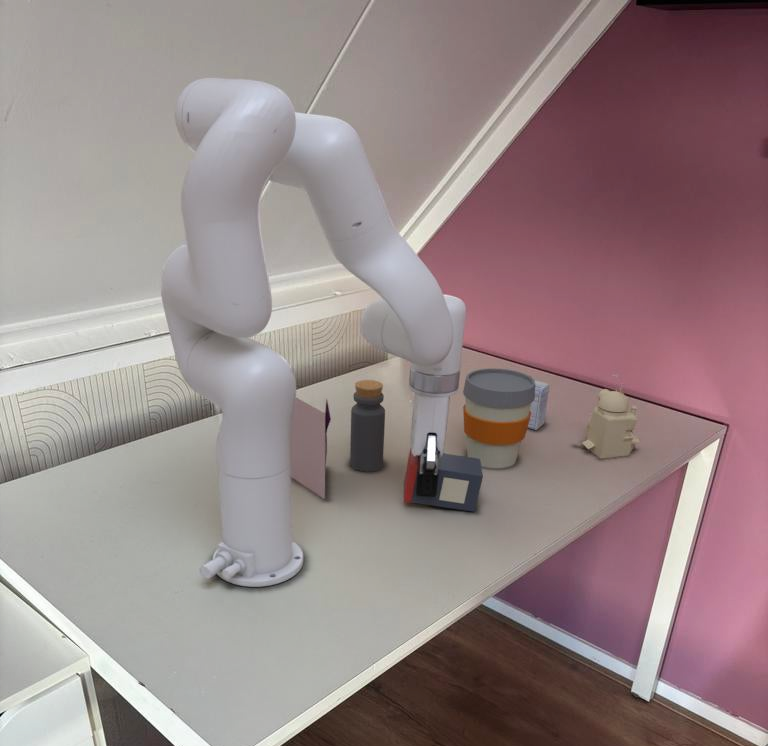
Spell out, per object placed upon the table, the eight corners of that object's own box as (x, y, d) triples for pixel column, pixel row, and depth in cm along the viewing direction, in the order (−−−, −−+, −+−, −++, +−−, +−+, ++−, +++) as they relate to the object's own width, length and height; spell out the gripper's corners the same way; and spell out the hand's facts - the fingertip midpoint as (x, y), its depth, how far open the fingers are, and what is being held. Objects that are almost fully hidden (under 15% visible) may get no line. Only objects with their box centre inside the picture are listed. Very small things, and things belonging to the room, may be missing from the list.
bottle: (379, 473, 140) (382, 392, 132) (346, 469, 141) (348, 388, 133) (385, 459, 145) (389, 380, 138) (354, 456, 146) (355, 377, 138)
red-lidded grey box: (471, 493, 134) (480, 457, 131) (474, 512, 128) (483, 475, 125) (403, 482, 134) (410, 446, 130) (403, 501, 128) (410, 464, 125)
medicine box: (544, 424, 162) (550, 383, 158) (536, 431, 159) (541, 389, 155) (509, 415, 166) (513, 375, 162) (499, 421, 163) (504, 381, 158)
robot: (617, 437, 158) (631, 363, 151) (641, 454, 151) (657, 378, 144) (570, 442, 155) (583, 367, 148) (593, 459, 148) (607, 382, 141)
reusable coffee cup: (493, 438, 155) (501, 363, 148) (540, 462, 146) (552, 384, 139) (443, 453, 148) (449, 375, 141) (489, 479, 140) (499, 397, 132)
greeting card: (330, 499, 131) (331, 413, 123) (284, 499, 130) (282, 413, 123) (329, 468, 141) (330, 387, 133) (287, 468, 140) (285, 386, 133)
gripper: (408, 360, 129) (401, 461, 138) (410, 398, 114) (402, 509, 122) (454, 363, 129) (444, 464, 138) (463, 400, 114) (451, 511, 122)
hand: (425, 484), depth 130 cm, fingers closed on red-lidded grey box, 6 cm apart
